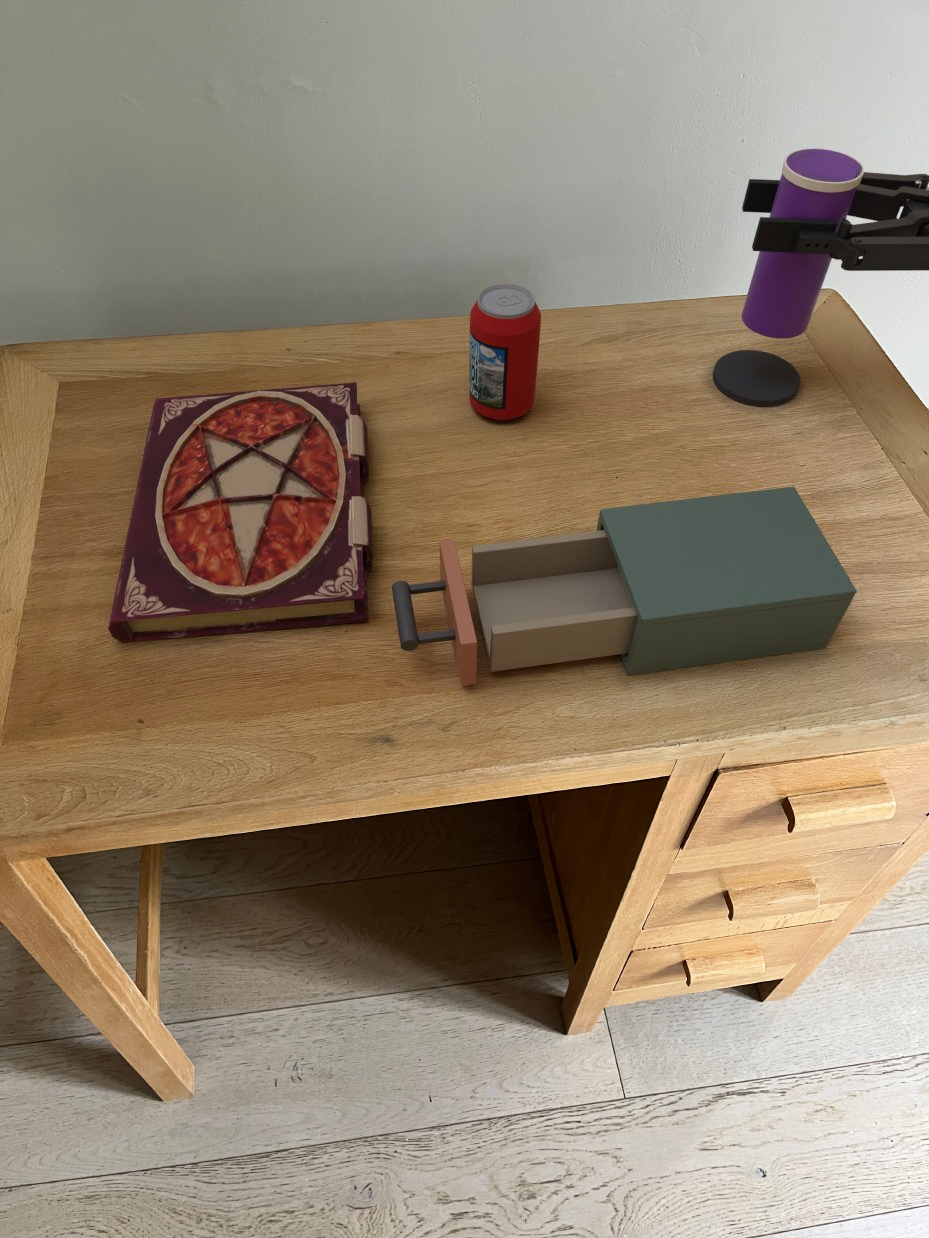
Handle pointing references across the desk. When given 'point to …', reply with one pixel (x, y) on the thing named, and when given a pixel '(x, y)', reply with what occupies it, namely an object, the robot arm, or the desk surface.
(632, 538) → the cabinet
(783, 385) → the coaster
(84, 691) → the desk surface
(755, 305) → the tube
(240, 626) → the book
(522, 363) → the beverage can
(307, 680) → the desk surface
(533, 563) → the drawer
